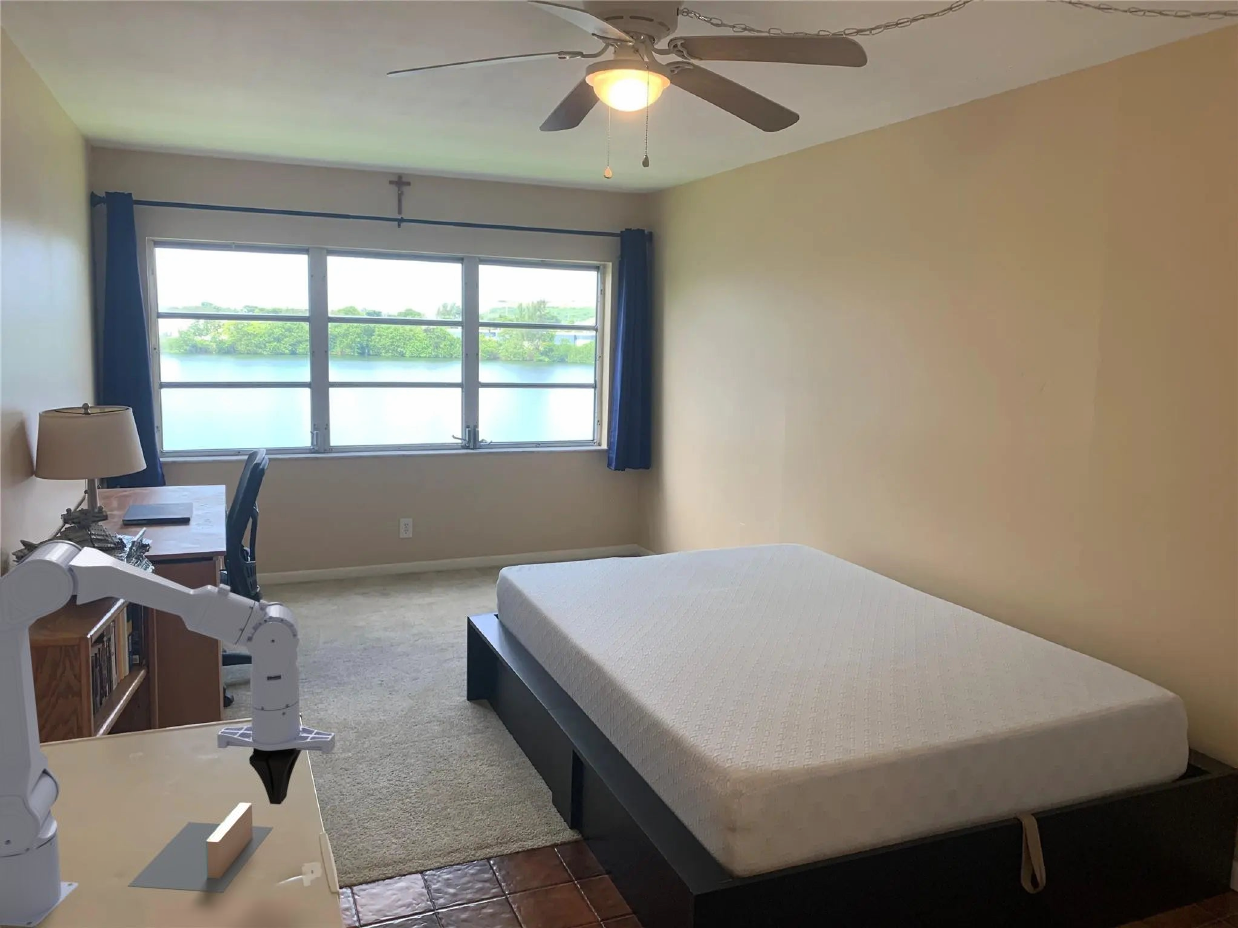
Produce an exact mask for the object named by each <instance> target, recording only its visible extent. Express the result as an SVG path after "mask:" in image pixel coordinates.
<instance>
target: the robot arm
mask: <svg viewBox="0 0 1238 928" xmlns="http://www.w3.org/2000/svg"><path fill="white" fill-rule="evenodd" d="M73 595H74V596H75V595H76V605H78V606H79V605H83V604H86V603H89V602H93V601H97V600H99V599H103V598H106V597H114V598H116V599H120V600H123V601H126V602H130V603H134V604H138V605H141V606H143V607H148V608H152V609H155V610H158V611H163V612H166V613H169V614H172V615H177V616H180V618H181V619H182V621H183V622H184V625H185V627H186V628H187V630H189V631H191V632H195V633H198V634H201V635H204V636H207V637H209V638H212V639H216V640H219V641H222V642H225V643H227V644H228V643H229V644H230V645H235V646H237V647H245V648H246V649H247V651H248V653H249V654H250V656H251V667H250V670H249V676H250V677H249V680H250V681H249V682H250V712H251V725H245V726H233V727H229V726H227V727H226V726H225V727H224V728H222V729H221V730H220V731H219V732H218V733H217V734H216V736H217V748H218V749H226V748H228V747H238V748H240V747H241V748H252V749H253V751H252V754H251V755H250V756H249V758H248V759H249V760H248V761H249V765H250V766H251V767H252V768H253V769H254V771H255V772H256V773H257V775H258V776H259V778H260V780H261V782H262V784H263V786H264V790H265V792H266V794H267V798H268V802H269V804H270V805H278V806H279V805H282V803H283V802H284V801H285V799H286V798H287V795H288V789H289V784H290V781H291V777H292V775H293V772H294V768H295V765H296V763H297V761H298V759H299V757H300V754H301V752H302V751H312V752H313V751H314V752H321V754H322V755H330V754H331V753H332V752H333V751H334V749H335V748H336V733H335V732H327V731H321V730H317V729H314V728H310V727H306V726H303V725H301V717H300V716H301V715H300V712H301V711H300V677H299V676H300V671H299V670H300V669H299V668H300V666H299V663H298V661H297V660H298V650H297V649H298V647H299V642H300V638H299V632H298V631H299V629H298V627H299V624H298V623H299V621H298V619H297V616H296V614H295V613H294V611H293V610H292V609H291V608H289V606H286V605H284V604H283V603H282V602H279V601H278V602H277V601H272V602H271V601H270V602H269V601H266V600H264V599H260V600H259V602H258V601H256V600H253V599H250V598H248V597H245V596H242V595H239V594H236V593H233V592H231V586H230V585H226V584H224V583H219V586H218V587H217V586H214V585H211V584H206V585H204V586H201V587H199V588H194V589H192V588H189V587H187V586H184V585H181V584H180V583H177V582H175V581H172V580H170V579H168V578H164V577H163V576H160V575H158V574H155V573H153V572H150V571H147V570H145V569H142V568H140V567H137V566H135V565H133V564H130V563H128V562H125V561H123V560H120V559H118V558H115V557H113V556H111V555H109V554H107V553H105V552H103V551H101V550H99V549H97V548H93V547H88V546H84V547H81V546H80V545H79V544H76V543H74V542H72V541H69V540H62V539H61V540H60V539H56V540H51V541H50V540H49V541H47V542H45V543H43V544H41V545H39V546H38V547H37V548H35V549H34V550H33V551H31V552H29V553H28V554H27V555H26V556H24V557H23V558H21V560H19V561H18V562H17V564H15V566H13V568H12V569H10V571H8V572H6V573H5V574H4V575H2V576H1V577H0V926H11V927H26V928H32V927H36V926H37V925H39V923H41V922H42V920H44V919H45V918H46V917H47V916H48V915H49V914H50V913H51V912H52V911H53V910H54V909H55V908H57V906H58V905H60V904H61V902H62V901H64V899H66V898H67V897H68V896H69V895H70V894H71V893H72V892H73V891H74V890H75V889H76V888H77V887H78V886H79V885H80V883H78V882H72V881H71V882H70V881H62V875H61V864H60V850H59V849H60V848H59V834H58V822H57V821H56V820H55V817H54V816H53V814H52V813H51V808H52V807H53V805H54V804H55V803H56V801H57V800H58V797H59V795H60V788H61V787H60V782H59V780H58V779H57V777H56V775H54V773H53V772H52V771H51V769H50V767H49V761H48V755H46V754H45V753H44V752H42V750H41V745H40V744H41V743H40V734H39V726H38V713H37V704H36V703H37V702H36V695H35V694H36V693H35V684H34V683H35V682H34V674H33V665H32V664H33V662H32V656H31V643H30V633H29V628H30V627H31V626H32V625H33V624H34V623H35V622H36V621H37V619H40V618H43V617H45V616H47V615H49V614H52V613H54V612H56V611H58V610H59V609H62V608H63V607H64V606H65V605H67V603H68V602H69V600H70V599H71V597H72V596H73ZM28 923H29V924H28Z"/></svg>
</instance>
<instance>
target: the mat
mask: <svg viewBox="0 0 1238 928" xmlns="http://www.w3.org/2000/svg"><path fill="white" fill-rule="evenodd" d="M220 825H221V823H207V822H195V821H194V822H193V821H192V822H191V821H189V822H187V824H185V826H183V828H182V829H181V830H180V831H179V832H178V833H176V835H175V836H174V837H173V838H172V839H171V840H170V841H169V843H167V845H165V847H164V848H163V849H162V850H160V852H159V853H158V854H157V855H156V856H155V857H154V858H153V859H152V860H151V861H150V862H149V863H148V864H147V865H146V866H145V867H144V868H143V869H142V871H140V873H138V874H137V875H136V877H134V879H133V880H131V882H130V883H129V884H128V885H127V886H128V887H134V888H136V887H138V888H149V889H165V890H180V891H195V892H196V891H197V892H209V893H211V892H213V893H224V892H225V890H226V889H227V888H228V887H229V885H230V884H231V883H232V881H233V880H234V879H235V878H236V876H237V875H238V874H239V872H240V871H241V870H242V868H243V867H244V866H245V865H246V863H247V862H248V861H249V859H250V858H252V855H253V854H254V853H255V852H256V850H257V849H258V848H259V847H260V846H261V844H262V842H263V841H265V839H266V838H267V836H268V835H269V834H270V832H271V831H272V829H274V827H271V826H256V825H252V827H253V837H252V839H251V840H250V841H249V842H248V844H247V845H246V846H245V847H244V849H243V850H242V851H241V852H240V854H239V855H238V856H237V857H236V859H235V860H234V861H233V862H232V864H231V865H230V866H229V867H228V869H227V870H226V871H225V872H224V873H223V875H222V876H221V877H220V878H207V863H206V840H207V839H208V838H209V837H210V836H211V835H212V834H213V832H214V831H215V830H216V829H217V828H218V827H219V826H220Z"/></svg>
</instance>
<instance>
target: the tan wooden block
mask: <svg viewBox="0 0 1238 928" xmlns="http://www.w3.org/2000/svg"><path fill="white" fill-rule="evenodd" d="M220 824H221V825H220V826H219V827H218V828H217V829H216V830H215V831H214V832H213V834H212V835H211V836H210V837H209V838H208V839H207V840H206V863H207V878H220V877H221V876H222V875H223V873H224V872H225V871H226V870H227V869H228V867H229V866H230V865H231V864H232V862H233V861H234V860H235V859H236V857H237V856H238V855H239V854H240V852H241V851H242V850H243V849H244V847H245V846H246V845H247V844H248V842H249V841H250V840H251V839H252V837H253V827H252V826H253V803H251V802H241V801H240V802H239V803H238V804H237V806H235V808H234V809H233V810H232V811H231V812H230V813H229V814H228V815H227V817H225V819H224V820H223V821H222V822H221V823H220Z"/></svg>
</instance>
